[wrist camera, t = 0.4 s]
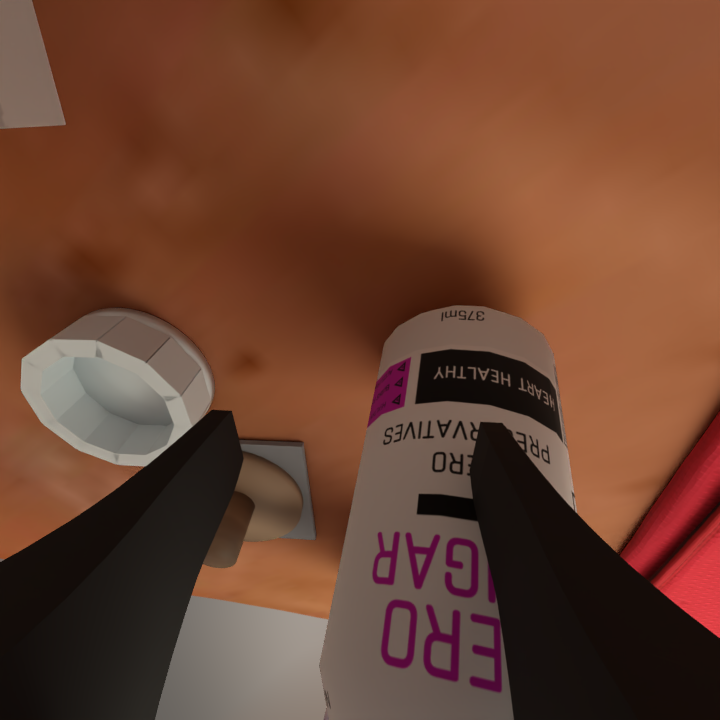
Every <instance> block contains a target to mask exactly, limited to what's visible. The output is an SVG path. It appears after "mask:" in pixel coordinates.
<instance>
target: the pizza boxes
mask: <svg viewBox="0 0 720 720" xmlns="http://www.w3.org/2000/svg"><path fill="white" fill-rule="evenodd" d="M57 125H66V123H65V119H64V115H63V112H62V108H61V104H60V101H59V97H58V93H57V90H56V86H55V82H54V79H53V75H52V72H51V68H50V64H49V61H48V57H47V53H46V50H45V46H44V42H43V39H42V35H41V31H40V28H39V24H38V21H37V17H36V13H35V10H34V6H33V2H32V0H0V129H6V128H23V127H40V126H57Z"/></svg>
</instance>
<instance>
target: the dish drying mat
mask: <svg viewBox="0 0 720 720" xmlns="http://www.w3.org/2000/svg"><path fill="white" fill-rule="evenodd" d="M620 557H622V558H623V559H624V560H625V561H626V562H627V563H628V564H629V565H630V566H632V567H633V568H634V569H635V570H636V571H637V572H638V573H640V574H641V575H642V576H643V577H644V578H646V579H647V580H648V581H649V582H650V583H651V584H653V585H654V586H655V587H656V588H657V589H659V590H660V591H661V592H662V593H663V594H664V595H666V596H667V597H668V598H669V599H670V600H672V601H673V602H674V603H675V604H677V605H678V606H679V607H680V608H682V609H683V610H684V611H685V612H686V613H688V614H689V615H690V616H692V617H693V618H694V619H695V620H697V621H698V622H699V623H701V624H702V625H703V626H705V627H706V628H707V629H708V630H710V631H711V632H712V633H714V634H715V635H716V636H718V637H719V638H720V411H719V412H718V414H717V415H716V417H715V418H714V420H713V421H712V423H711V424H710V426H709V427H708V429H707V430H706V431H705V433H704V434H703V436H702V437H701V438H700V440H699V441H698V442H697V444H696V445H695V447H694V448H693V450H692V451H691V452H690V454H689V455H688V456H687V458H686V459H685V460H684V462H683V463H682V465H681V466H680V468H679V469H678V470H677V472H676V473H675V475H674V476H673V478H672V479H671V481H670V482H669V483H668V485H667V486H666V488H665V489H664V491H663V492H662V493H661V495H660V496H659V498H658V499H657V501H656V502H655V504H654V505H653V506H652V508H651V509H650V511H649V512H648V514H647V515H646V517H645V519H644V520H643V522H642V523H641V525H640V527H639V528H638V530H637V531H636V533H635V534H634V536H633V537H632V539H631V540H630V542H629V543H628V544H627V546H626V547H625V548H624V550H623V551H622V553H621V554H620Z"/></svg>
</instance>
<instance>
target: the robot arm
mask: <svg viewBox="0 0 720 720" xmlns="http://www.w3.org/2000/svg"><path fill="white" fill-rule="evenodd" d="M243 460H244V457H243V453H242V449H241V445H240V442H239V438H238V434H237V430H236V426H235V422H234V418H233V414H232V411H222V410H211V411H210V412H209V413H208V414H207V415H205V416H204V417H203V418H202V419H201V420H200V421H198V422H197V423H196V424H195V425H194V426H193V427H192V428H190V429H189V430H188V431H187V432H186V433H185V434H184V435H182V436H181V437H180V438H179V439H178V440H177V441H175V442H174V443H173V444H172V445H171V446H170V447H168V448H167V449H166V450H165V451H164V452H162V453H161V454H160V455H159V456H158V457H157V458H155V459H154V460H153V461H152V462H151V463H149V464H148V465H147V466H145V467H144V468H143V469H142V470H140V471H139V472H138V473H136V474H135V475H134V476H133V477H131V478H130V479H129V480H128V481H126V482H125V483H124V484H122V485H121V486H120V487H119V488H117V489H116V490H115V491H113V492H112V493H110V494H109V495H108V496H106V497H105V498H103V499H102V500H101V501H99V502H98V503H96V504H95V505H93V506H92V507H90V508H89V509H87V510H86V511H84V512H83V513H81V514H80V515H78V516H77V517H75V518H74V519H72V520H71V521H69V522H68V523H66V524H64V525H63V526H61V527H59V528H58V529H56V530H54V531H53V532H51V533H50V534H48V535H46V536H45V537H43V538H41V539H40V540H38V541H36V542H35V543H33V544H31V545H30V546H28V547H26V548H25V549H23V550H21V551H19V552H18V553H16V554H14V555H12V556H10V557H9V558H7V559H5V560H3V561H2V562H0V720H155V717H156V713H157V708H158V705H159V701H160V697H161V694H162V690H163V687H164V683H165V680H166V676H167V672H168V669H169V665H170V661H171V658H172V654H173V651H174V648H175V645H176V642H177V638H178V635H179V632H180V629H181V625H182V622H183V619H184V616H185V613H186V610H187V606H188V604H189V601H190V598H191V595H192V592H193V589H194V586H195V582H196V580H197V577H198V574H199V572H200V569H201V567H202V564H203V562H204V559H205V557H206V555H207V553H208V550H209V548H210V546H211V544H212V541H213V539H214V537H215V534H216V532H217V530H218V528H219V525H220V523H221V521H222V518H223V516H224V514H225V512H226V509H227V507H228V505H229V502H230V500H231V498H232V495H233V493H234V490H235V487H236V484H237V481H238V478H239V474H240V471H241V467H242V463H243ZM470 479H471V487H472V495H473V502H474V507H475V511H476V516H477V520H478V524H479V528H480V532H481V536H482V540H483V544H484V548H485V552H486V556H487V560H488V564H489V568H490V572H491V576H492V580H493V584H494V589H495V594H496V598H497V604H498V610H499V616H500V623H501V629H502V636H503V642H504V649H505V656H506V664H507V671H508V678H509V685H510V693H511V701H512V709H513V717H514V720H720V638H719V637H718V636H716V635H715V634H714V633H712V632H711V631H710V630H708V629H707V628H706V627H705V626H703V625H702V624H701V623H699V622H698V621H697V620H695V619H694V618H693V617H692V616H690V615H689V614H688V613H686V612H685V611H684V610H683V609H682V608H680V607H679V606H678V605H677V604H675V603H674V602H673V601H672V600H670V599H669V598H668V597H667V596H666V595H664V594H663V593H662V592H661V591H660V590H659V589H657V588H656V587H655V586H654V585H653V584H651V583H650V582H649V581H648V580H647V579H646V578H644V577H643V576H642V575H641V574H640V573H638V572H637V571H636V570H635V569H634V568H633V567H632V566H630V565H629V564H628V563H627V562H626V561H625V560H624V559H623V558H622V557H620V556H619V555H618V554H617V553H616V552H615V551H614V550H613V549H612V548H611V547H610V546H609V545H608V544H607V543H606V542H605V541H604V540H603V539H602V538H600V537H599V536H598V535H597V534H596V533H595V532H594V531H593V530H592V529H591V528H590V527H589V526H588V524H587V523H586V522H585V521H584V520H583V519H582V518H581V517H580V516H579V515H578V514H577V513H576V512H575V511H574V510H573V509H572V507H571V506H570V505H569V504H568V503H567V502H566V501H565V500H564V499H563V498H562V496H561V495H560V494H559V493H558V492H557V491H556V490H555V488H554V487H553V486H552V485H551V484H550V482H549V481H548V480H547V479H546V478H545V476H544V475H543V474H542V473H541V472H540V470H539V469H538V468H537V467H536V466H535V464H534V463H533V462H532V461H531V459H530V458H529V457H528V455H527V454H526V453H525V452H524V450H523V449H522V448H521V446H520V445H519V444H518V442H517V441H516V440H515V438H514V437H513V436H512V434H511V433H510V432H509V430H508V429H507V428H506V426H505V425H504V424H503V423H496V422H480V425H479V430H478V434H477V439H476V443H475V448H474V452H473V457H472V461H471V466H470ZM324 720H329V717H328V711H327V708H326V712H325V716H324Z"/></svg>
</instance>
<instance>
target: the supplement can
mask: <svg viewBox="0 0 720 720" xmlns="http://www.w3.org/2000/svg"><path fill="white" fill-rule="evenodd" d="M480 422H496V423H503V424H504V425H505V426H506V428H507V429H508V430H509V432H510V433H511V434H512V436H513V437H514V438H515V440H516V441H517V442H518V444H519V445H520V446H521V448H522V449H523V450H524V452H525V453H526V454H527V455H528V457H529V458H530V459H531V461H532V462H533V463H534V464H535V466H536V467H537V468H538V469H539V470H540V472H541V473H542V474H543V475H544V476H545V478H546V479H547V480H548V481H549V482H550V484H551V485H552V486H553V487H554V488H555V490H556V491H557V492H558V493H559V494H560V495H561V496H562V498H563V499H564V500H565V501H566V502H567V503H568V504H569V505H570V506H571V507H572V509H573V510H574V511H575V512H576V513H577V510H576V503H575V496H574V489H573V482H572V476H571V469H570V462H569V455H568V449H567V442H566V435H565V428H564V421H563V415H562V408H561V401H560V394H559V388H558V381H557V374H556V367H555V360H554V354H553V352H552V350H551V348H550V346H549V344H548V342H547V340H546V339H545V337H544V335H543V334H542V333H541V332H539V331H538V330H537V329H535V328H534V327H532V326H531V325H530V324H528V323H527V322H526V321H524V320H523V319H521V318H519V317H516V316H513V315H510V314H507V313H504V312H500V311H497V310H494V309H491V308H488V307H484V306H462V305H454V306H449V307H445V308H440V309H435V310H431V311H428V312H425V313H421V314H419V315H417V316H415V317H414V318H412V319H410V320H408V321H406V322H404V323H403V324H401V325H399V326H397V328H396V329H395V330H394V331H393V333H392V334H391V335H390V336H389V338H388V339H387V340H386V341H385V343H384V347H383V352H382V357H381V362H380V367H379V372H378V377H377V382H376V387H375V392H374V397H373V402H372V406H371V411H370V416H369V421H368V426H367V431H366V436H365V441H364V446H363V451H362V456H361V461H360V466H359V471H358V476H357V481H356V486H355V491H354V496H353V501H352V506H351V511H350V516H349V521H348V526H347V531H346V536H345V541H344V545H343V550H342V555H341V560H340V565H339V570H338V575H337V580H336V585H335V590H334V595H333V600H332V605H331V610H330V615H329V620H328V625H327V630H326V635H325V640H324V645H323V650H322V655H321V660H320V665H319V666H320V672H321V677H322V683H323V689H324V695H325V700H326V706H327V711H328V717H329V720H514V717H513V709H512V701H511V693H510V685H509V678H508V671H507V664H506V656H505V649H504V642H503V636H502V629H501V623H500V616H499V610H498V604H497V598H496V594H495V589H494V584H493V580H492V576H491V572H490V568H489V564H488V560H487V556H486V552H485V548H484V544H483V540H482V536H481V532H480V528H479V524H478V520H477V516H476V511H475V507H474V502H473V495H472V487H471V479H470V466H471V461H472V457H473V452H474V448H475V443H476V439H477V434H478V430H479V425H480Z"/></svg>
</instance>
